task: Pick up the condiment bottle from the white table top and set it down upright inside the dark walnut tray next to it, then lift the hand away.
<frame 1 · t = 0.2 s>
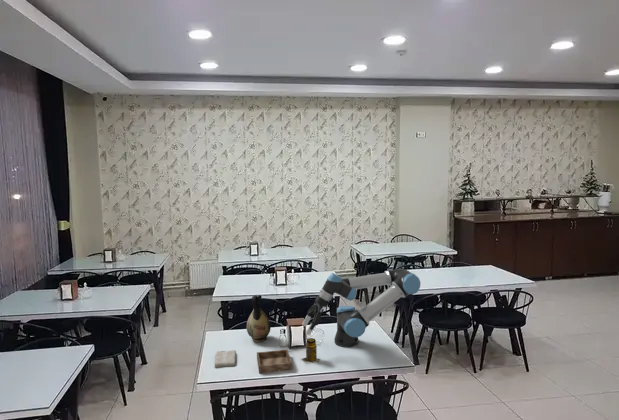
hand: (305, 329, 256), 16 cm above the table, tool tilted 30°, fingers open, 13 cm apart
washcloth: (225, 361, 255), on the table
ceramic jug: (258, 339, 283), on the table
tray: (273, 364, 248), on the table
condiment: (310, 360, 253), on the table
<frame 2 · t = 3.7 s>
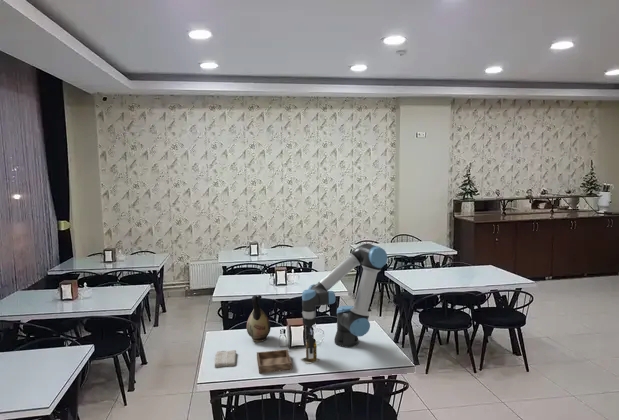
hand: (309, 355, 253), 2 cm above the table, tool pointing down, fingers closed on condiment, 6 cm apart
condiment: (310, 360, 253), on the table, touching gripper
everything else where it was.
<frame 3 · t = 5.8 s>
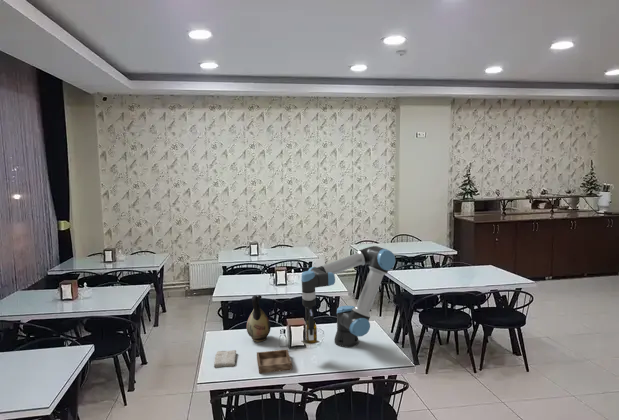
hand: (310, 337, 252), 13 cm above the table, tool pointing down, fingers closed on condiment, 6 cm apart
condiment: (310, 342, 252), point 11 cm above the table, touching gripper
everything else where it was.
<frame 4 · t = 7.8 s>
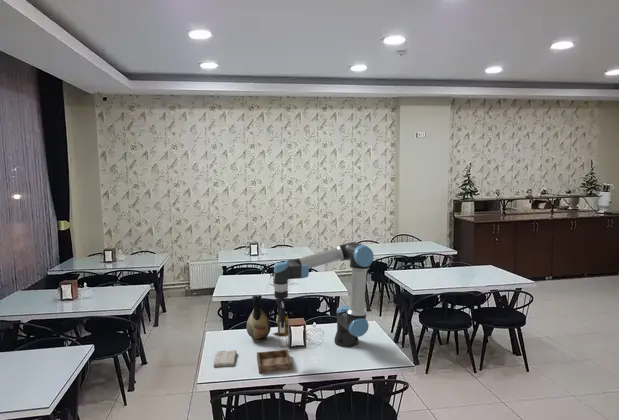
hand: (281, 330, 247), 20 cm above the table, tool pointing down, fingers closed on condiment, 6 cm apart
condiment: (281, 334, 247), point 17 cm above the table, touching gripper
everything else where it was.
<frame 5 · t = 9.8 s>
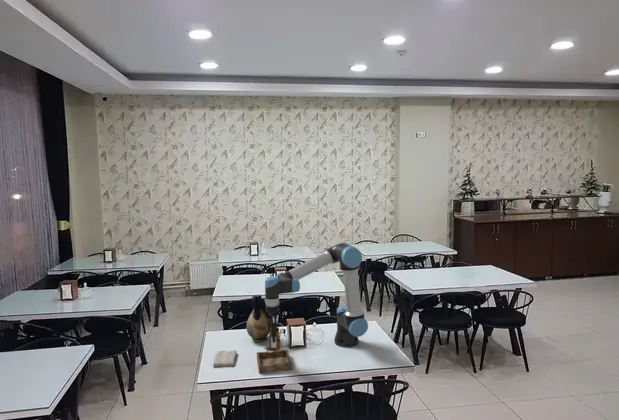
hand: (273, 344, 247), 12 cm above the table, tool pointing down, fingers closed on condiment, 6 cm apart
condiment: (273, 349, 247), point 9 cm above the table, touching gripper
everything else where it was.
when the fingers open (5 cm above the table, at t = 11.8 s): condiment drops 1 cm, resting on tray.
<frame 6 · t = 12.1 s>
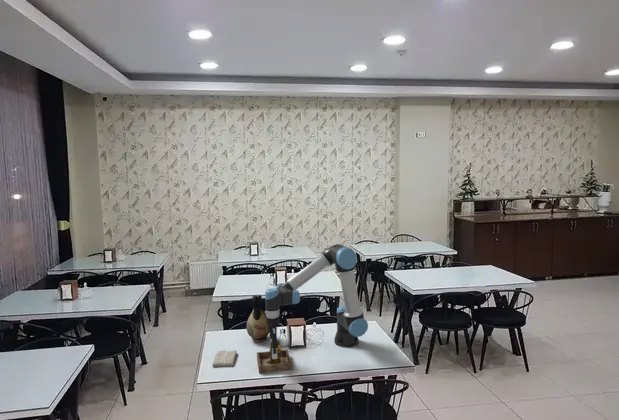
hand: (273, 354, 247), 6 cm above the table, tool pointing down, fingers open, 11 cm apart
condiment: (274, 363, 248), point 1 cm above the table, touching tray
everything else where it was.
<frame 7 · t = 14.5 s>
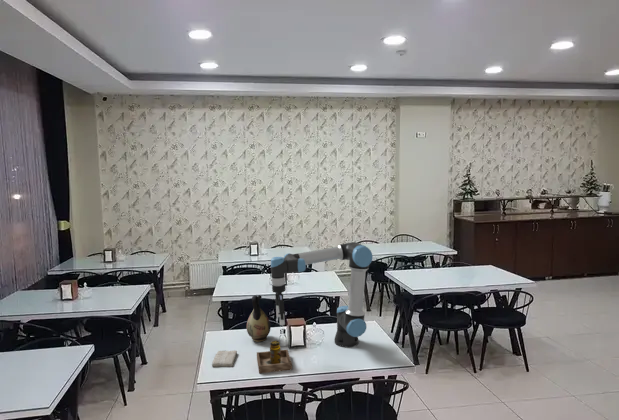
hand: (280, 320, 250), 24 cm above the table, tool pointing down, fingers open, 13 cm apart
nothing on the table moved.
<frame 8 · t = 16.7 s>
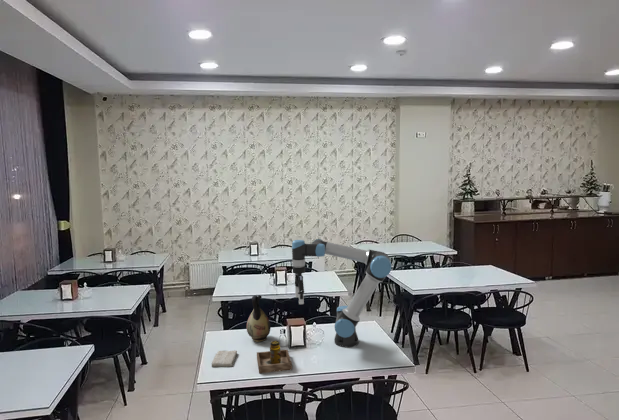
hand: (299, 300, 264), 31 cm above the table, tool pointing down, fingers open, 13 cm apart
at the end: condiment inside the target area on the tray (0.2 cm from its centre), point 0.8 cm above the tray's base; condiment tilted 0°; the gripper is holding nothing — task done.
